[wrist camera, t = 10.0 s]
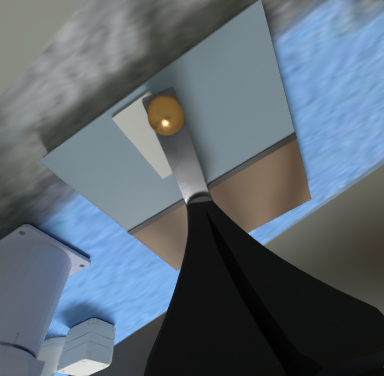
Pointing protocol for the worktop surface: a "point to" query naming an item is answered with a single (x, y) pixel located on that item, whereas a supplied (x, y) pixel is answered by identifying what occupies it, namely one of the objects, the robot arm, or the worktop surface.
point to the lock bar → (176, 144)
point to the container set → (79, 349)
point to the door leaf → (194, 117)
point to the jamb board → (235, 199)
